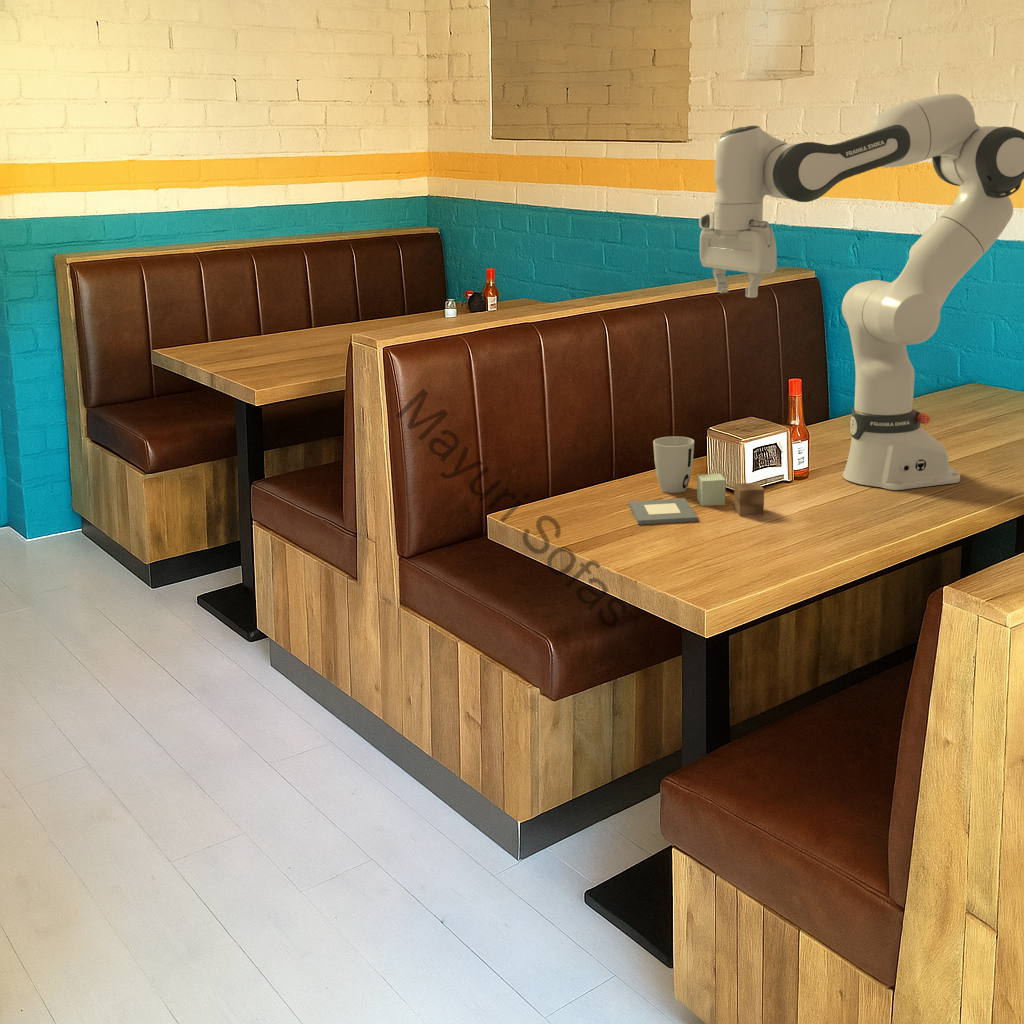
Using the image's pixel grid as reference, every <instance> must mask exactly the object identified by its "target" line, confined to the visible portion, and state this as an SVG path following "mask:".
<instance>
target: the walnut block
mask: <svg viewBox="0 0 1024 1024" xmlns="http://www.w3.org/2000/svg"><path fill="white" fill-rule="evenodd" d="M733 494H734V495H733V510H734V511H735V512H736V514H737V515H738V516H739V517H747V516H748V517H749V516H763V515H764V514H765V513H764V512H765V511H764V510H765V489H764V487H763V486H762V485H761V484H760V483H759V482H746V483H745V482H744V483H742V482H741V483H734V485H733Z"/></svg>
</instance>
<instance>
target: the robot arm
mask: <svg viewBox="0 0 1024 1024" xmlns="http://www.w3.org/2000/svg"><path fill="white" fill-rule="evenodd" d="M867 131H868V132H865V133H864V134H861V135H858V136H855V137H852V138H849V139H845V140H843V141H840V142H836V143H834V144H825V143H821V142H814V141H807V142H805V141H804V142H801V143H787V142H786V141H784V140H780V139H777V138H776V137H774V136H772V135H771V134H769V133H767V132H766V131H764V129H762V128H761V127H760V126H759V125H746V126H743V127H737V128H732V129H730V130H726V131H725V132H723V133H722V134H721V135H720V136H719V138H718V140H717V144H716V151H715V158H714V159H715V160H714V161H715V162H714V183H715V186H716V187H715V188H716V190H715V192H716V194H715V198H714V202H713V209H711V210H710V211H708V212H706V213H705V214H703V215H701V216H700V217H699V219H698V225H699V228H700V229H702V230H701V232H700V235H699V260H700V263H701V266H702V267H704V268H710V269H712V275H713V278H714V281H715V283H716V292H717V293H720V294H724V293H725V294H726V293H729V290H730V289H729V287H730V286H729V285H730V284H729V282H727V279H726V275H725V274H727V271H735V272H741V273H747V274H748V275H747V276H748V279H749V282H748V285H747V287H745V289H744V291H745V293H744V294H745V296H744V297H746V298H751V299H753V298H757V297H758V294H759V293H758V292H759V286H760V284H761V283H762V280H763V275H765V274H766V275H767V274H773V273H774V272H775V271H776V269H777V266H778V265H777V264H778V259H777V254H778V253H777V243H776V237H775V234H774V231H773V227H772V226H771V224H770V223H769V221H766V220H763V214H764V213H763V211H764V197H765V196H769V197H772V198H776V199H784V200H785V199H786V200H792V201H795V202H799V203H808V202H809V203H810V202H813V201H815V200H816V201H817V199H819V198H821V197H823V196H824V195H825V194H826V193H828V192H829V191H830V190H831V189H832V188H833V187H835V186H836V185H837V184H839V183H840V182H842V181H844V180H846V179H848V178H851V177H854V176H857V175H860V174H863V173H866V172H869V171H872V170H875V169H878V168H898V167H903V166H908V165H913V164H916V163H920V162H922V161H926V160H929V159H931V160H932V165H933V168H934V171H935V173H936V174H937V176H938V177H939V178H940V179H941V180H942V181H944V182H945V183H947V184H949V185H953V186H956V187H958V186H959V190H958V193H957V195H956V198H955V199H954V201H953V202H952V204H951V206H949V207H948V208H947V209H946V210H945V211H944V212H943V213H942V214H941V215H940V216H939V217H938V218H937V219H936V220H935V221H934V222H933V224H931V225H930V227H928V228H927V230H926V231H925V232H923V234H922V235H921V236H920V237H919V238H918V239H917V241H916V242H914V243H913V244H912V245H911V247H910V249H909V252H908V260H907V262H906V264H905V266H904V267H903V269H902V271H901V272H900V274H899V275H898V277H896V279H894V280H893V281H892V282H890V281H887V280H886V281H885V280H879V279H873V280H871V279H870V280H867V281H863V282H862V281H861V282H859V283H857V284H854V285H853V286H852V287H850V289H848V290H847V292H846V293H845V295H844V296H843V299H842V302H841V314H842V317H843V319H844V321H845V322H846V325H847V327H848V331H849V335H850V336H849V337H850V342H851V346H852V347H851V349H852V354H853V358H854V360H853V361H854V367H855V369H854V370H855V382H854V383H855V387H854V407H853V408H852V409H851V417H850V436H851V441H850V448H849V453H848V457H847V460H846V465H845V467H844V469H843V473H842V477H843V479H845V480H847V481H849V482H850V483H855V484H858V485H862V486H868V487H869V486H870V487H878V488H881V489H882V488H883V489H886V490H891V491H900V490H901V491H902V490H908V489H915V488H916V489H917V488H924V487H932V486H940V485H941V486H942V485H943V486H944V485H949V484H956V483H960V481H961V474H960V472H958V471H957V470H956V469H955V468H954V467H952V466H950V461H949V460H950V459H949V455H948V452H947V451H948V450H947V449H946V447H945V446H944V445H943V444H942V443H941V442H940V441H938V439H936V438H935V437H933V436H932V435H931V434H929V432H927V431H926V430H925V429H923V428H922V427H921V424H922V425H928V424H929V422H931V416H929V414H927V413H925V412H920V411H918V410H916V409H914V408H913V405H914V404H913V402H914V389H915V374H916V373H915V369H914V366H913V365H912V363H911V360H910V357H909V354H908V351H907V346H911V345H917V344H922V343H924V342H926V341H928V340H929V339H931V338H932V336H934V334H935V333H936V331H937V329H939V328H938V327H939V325H940V322H941V309H942V307H943V306H944V303H945V301H946V300H947V298H948V296H949V295H950V293H951V291H952V290H953V289H954V287H955V286H956V284H958V282H960V280H961V279H962V278H963V277H964V276H965V275H966V274H967V272H969V270H970V269H971V268H972V267H973V266H974V265H976V263H977V262H978V261H979V260H980V259H981V258H982V257H983V255H985V253H986V252H987V251H988V250H990V248H991V247H992V246H993V245H994V243H995V242H996V241H997V240H998V238H999V237H1000V235H1001V234H1002V233H1003V231H1004V230H1005V228H1006V227H1007V226H1008V224H1009V222H1010V221H1011V219H1012V217H1013V215H1014V213H1013V212H1014V205H1013V202H1012V200H1011V198H1010V196H1011V195H1013V194H1015V193H1017V191H1018V190H1020V187H1021V185H1022V183H1023V180H1024V131H1022V130H1020V129H1018V128H1014V127H1012V126H995V125H992V126H991V125H989V126H987V125H983V126H979V124H977V122H976V114H975V109H974V108H973V105H972V104H971V102H970V101H969V99H967V98H966V96H963V95H961V94H957V93H948V94H947V93H946V94H939V95H937V94H936V95H931V96H925V97H921V98H917V99H913V100H909V101H905V102H902V103H900V104H898V105H895V106H892V107H891V108H888V109H886V110H884V111H882V112H880V113H879V114H877V115H875V117H874V118H873V119H872V121H871V123H870V125H869V128H868V130H867Z"/></svg>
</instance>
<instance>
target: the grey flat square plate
mask: <svg viewBox="0 0 1024 1024" xmlns="http://www.w3.org/2000/svg"><path fill="white" fill-rule="evenodd" d="M628 507H629V509H630V511H631V513H632V515H633V517H634V519H635V521H636V524H637V525H656V524H672V523H674V524H675V523H690V522H698V521H699V520H698V516H697V514H696V512H695V511H694V509H693V508H692V506H691V505H690V503H689V502H688V500H687V499H686V498H685V497H683V498H682V497H681V498H666V499H665V498H664V499H647V500H629V501H628Z"/></svg>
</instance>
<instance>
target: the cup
mask: <svg viewBox="0 0 1024 1024" xmlns="http://www.w3.org/2000/svg"><path fill="white" fill-rule="evenodd" d="M652 443H653V444H652V445H653V456H654V458H653V459H654V465H655V466H654V467H655V472H656V477H657V481H658V483H659V486H660V489H661V491H662V492H664V493H669V494H679V493H684V492H685V491H687V489H688V486H689V483H690V481H691V475H692V470H693V463H694V453H695V452H694V451H695V440H694V439H693V438H690V437H687V436H664V437H659V438H655V439H654V440H653V441H652Z"/></svg>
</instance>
